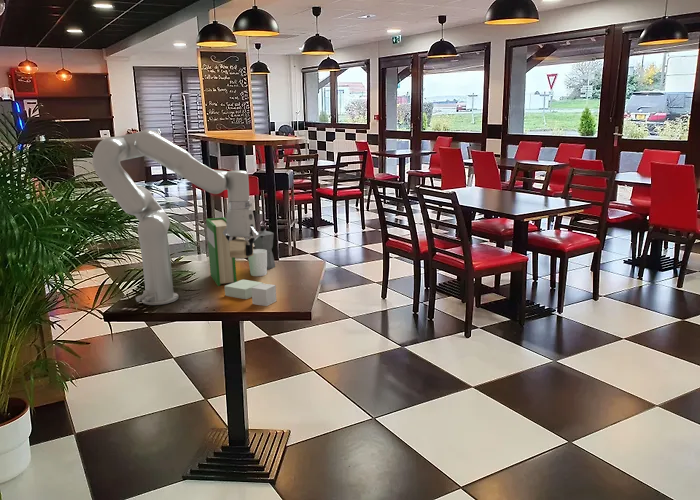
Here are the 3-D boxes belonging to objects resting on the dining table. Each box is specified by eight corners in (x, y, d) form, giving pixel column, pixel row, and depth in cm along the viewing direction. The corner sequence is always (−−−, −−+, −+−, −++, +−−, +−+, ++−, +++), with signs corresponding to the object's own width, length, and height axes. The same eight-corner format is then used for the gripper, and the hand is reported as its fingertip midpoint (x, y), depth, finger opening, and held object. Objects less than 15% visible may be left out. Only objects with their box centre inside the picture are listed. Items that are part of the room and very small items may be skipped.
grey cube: (266, 306, 197) (265, 289, 196) (252, 304, 200) (251, 287, 198) (276, 301, 202) (275, 285, 201) (262, 299, 205) (261, 283, 203)
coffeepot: (274, 270, 244) (272, 229, 240) (252, 271, 243) (250, 229, 239) (276, 261, 259) (274, 222, 255) (255, 262, 258) (253, 223, 254)
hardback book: (236, 283, 225) (232, 223, 220) (217, 286, 222) (213, 225, 217) (228, 273, 241) (224, 217, 236) (210, 275, 238) (206, 218, 233)
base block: (245, 300, 205) (245, 289, 204) (225, 296, 210) (224, 286, 209) (263, 293, 213) (263, 282, 212) (243, 289, 218) (242, 279, 218)
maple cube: (243, 258, 204) (242, 242, 203) (230, 257, 207) (229, 240, 206) (253, 255, 210) (252, 239, 208) (240, 253, 212) (239, 237, 211)
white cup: (251, 271, 242) (249, 249, 240) (269, 271, 242) (268, 248, 240) (247, 276, 235) (245, 253, 232) (266, 276, 234) (265, 253, 232)
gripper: (265, 205, 204) (267, 254, 208) (226, 202, 211) (229, 250, 215) (252, 208, 197) (255, 258, 201) (213, 205, 205) (216, 254, 209)
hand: (241, 253), depth 208 cm, fingers closed on maple cube, 6 cm apart
